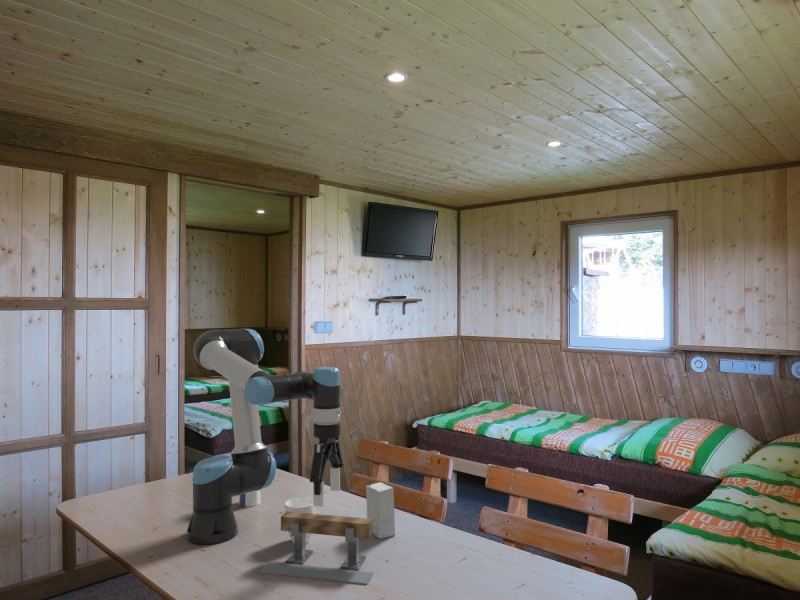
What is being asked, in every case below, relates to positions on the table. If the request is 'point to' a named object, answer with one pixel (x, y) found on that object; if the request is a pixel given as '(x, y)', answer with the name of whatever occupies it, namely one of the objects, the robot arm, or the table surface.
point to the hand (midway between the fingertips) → (327, 498)
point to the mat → (317, 572)
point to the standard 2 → (352, 551)
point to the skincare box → (381, 509)
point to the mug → (301, 511)
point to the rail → (327, 524)
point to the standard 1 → (298, 546)
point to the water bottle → (250, 499)
